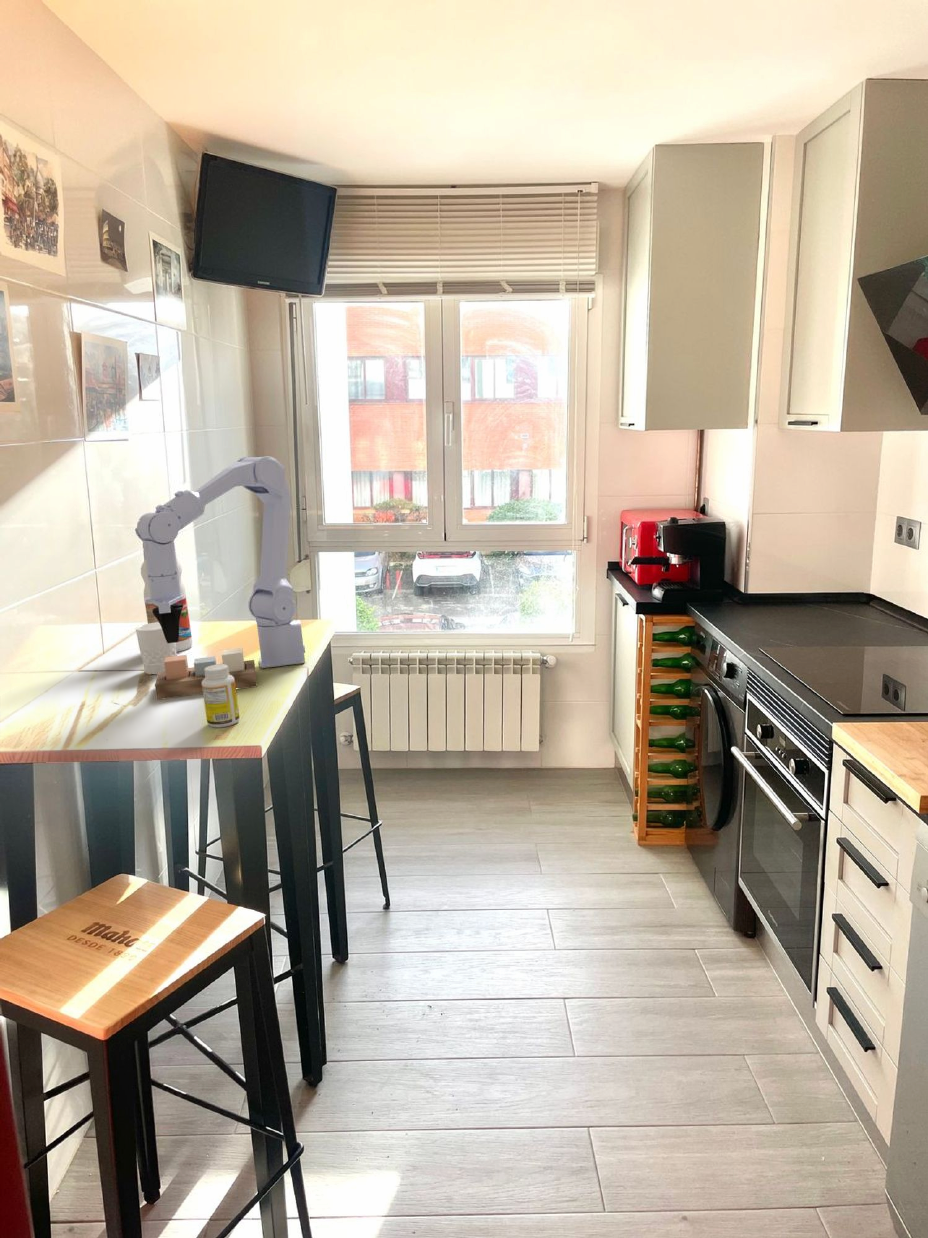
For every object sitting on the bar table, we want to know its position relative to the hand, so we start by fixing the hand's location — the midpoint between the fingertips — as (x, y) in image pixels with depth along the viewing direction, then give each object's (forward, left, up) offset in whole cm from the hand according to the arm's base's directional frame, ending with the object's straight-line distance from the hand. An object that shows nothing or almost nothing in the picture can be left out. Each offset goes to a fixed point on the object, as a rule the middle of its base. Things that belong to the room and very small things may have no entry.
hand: (173, 642), depth 181 cm
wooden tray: (-6, 0, -10) cm, 11 cm away
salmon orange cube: (0, 0, -7) cm, 7 cm away
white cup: (+5, -18, -10) cm, 21 cm away
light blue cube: (-6, 0, -8) cm, 10 cm away
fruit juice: (+4, -38, -10) cm, 40 cm away
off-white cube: (-11, 0, -7) cm, 13 cm away
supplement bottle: (-9, +26, -10) cm, 29 cm away
